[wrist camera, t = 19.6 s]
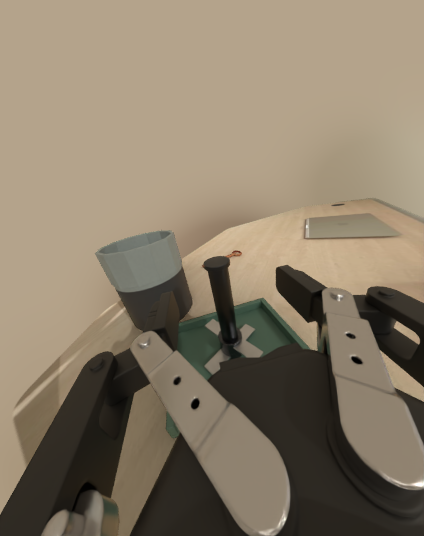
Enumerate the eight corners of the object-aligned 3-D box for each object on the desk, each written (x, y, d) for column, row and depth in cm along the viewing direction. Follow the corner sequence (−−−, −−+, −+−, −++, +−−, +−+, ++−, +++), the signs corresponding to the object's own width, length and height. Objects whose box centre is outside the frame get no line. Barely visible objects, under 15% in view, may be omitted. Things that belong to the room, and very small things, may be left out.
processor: (132, 342, 28) (85, 262, 21) (135, 303, 39) (105, 243, 32) (199, 313, 31) (178, 237, 25) (184, 285, 43) (167, 227, 36)
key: (208, 272, 48) (247, 256, 53) (207, 269, 47) (247, 254, 52) (200, 265, 52) (237, 251, 57) (200, 262, 52) (237, 249, 57)
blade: (237, 403, 17) (215, 298, 11) (189, 353, 23) (159, 269, 17) (277, 345, 22) (278, 251, 16) (229, 317, 28) (216, 243, 22)
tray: (172, 439, 16) (165, 429, 15) (172, 334, 28) (169, 325, 27) (325, 378, 18) (327, 367, 17) (263, 306, 30) (263, 297, 29)
